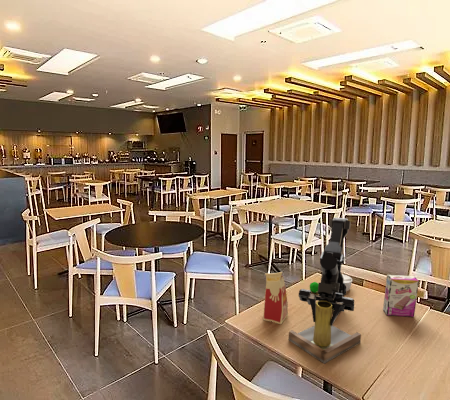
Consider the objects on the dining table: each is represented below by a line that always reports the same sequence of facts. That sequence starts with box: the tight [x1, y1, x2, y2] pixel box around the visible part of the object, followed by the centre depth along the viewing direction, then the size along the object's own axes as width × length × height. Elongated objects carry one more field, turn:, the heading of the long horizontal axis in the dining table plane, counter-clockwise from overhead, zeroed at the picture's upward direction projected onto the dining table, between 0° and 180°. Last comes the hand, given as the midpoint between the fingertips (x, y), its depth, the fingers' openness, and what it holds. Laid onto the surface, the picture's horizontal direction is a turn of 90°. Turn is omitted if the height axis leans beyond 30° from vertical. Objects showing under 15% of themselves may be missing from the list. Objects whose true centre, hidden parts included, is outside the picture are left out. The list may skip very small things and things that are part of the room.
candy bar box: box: [382, 274, 420, 318], centre depth 139 cm, size 11×5×16 cm, turn 84°
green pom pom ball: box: [309, 281, 319, 294], centre depth 160 cm, size 5×5×5 cm
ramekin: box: [341, 273, 353, 292], centre depth 165 cm, size 11×11×5 cm
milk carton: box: [262, 271, 289, 325], centre depth 136 cm, size 9×9×20 cm
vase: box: [313, 301, 333, 347], centre depth 116 cm, size 6×6×14 cm
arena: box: [288, 324, 362, 364], centre depth 121 cm, size 16×20×4 cm
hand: (322, 323), depth 114 cm, fingers closed on vase, 5 cm apart
